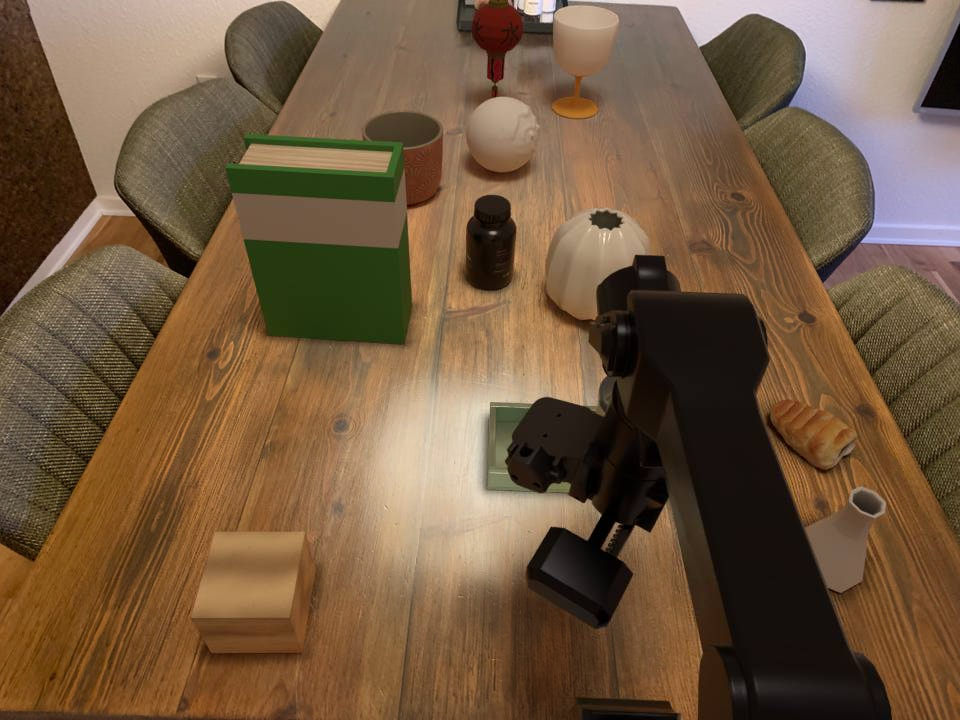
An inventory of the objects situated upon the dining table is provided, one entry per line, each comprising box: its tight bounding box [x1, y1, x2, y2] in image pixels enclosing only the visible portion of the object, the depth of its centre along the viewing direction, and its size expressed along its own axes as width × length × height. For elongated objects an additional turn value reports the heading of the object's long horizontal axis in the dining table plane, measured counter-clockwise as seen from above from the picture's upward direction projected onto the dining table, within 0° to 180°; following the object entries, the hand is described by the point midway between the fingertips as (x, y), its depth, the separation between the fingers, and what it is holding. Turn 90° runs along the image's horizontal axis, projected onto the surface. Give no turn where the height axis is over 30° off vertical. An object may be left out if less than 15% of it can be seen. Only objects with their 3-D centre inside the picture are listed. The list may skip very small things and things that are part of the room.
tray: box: [486, 401, 596, 494], centre depth 78 cm, size 10×19×3 cm, turn 88°
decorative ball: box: [465, 96, 541, 173], centre depth 118 cm, size 12×12×12 cm
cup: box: [551, 4, 620, 120], centre depth 132 cm, size 12×12×17 cm
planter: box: [361, 109, 444, 205], centre depth 112 cm, size 12×12×11 cm
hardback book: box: [224, 133, 413, 345], centre depth 85 cm, size 18×7×24 cm, turn 86°
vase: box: [544, 206, 652, 321], centre depth 93 cm, size 14×14×13 cm
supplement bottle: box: [464, 194, 518, 291], centre depth 97 cm, size 7×7×12 cm
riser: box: [190, 531, 317, 654], centre depth 63 cm, size 8×8×7 cm
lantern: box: [470, 0, 524, 99], centre depth 127 cm, size 10×10×30 cm
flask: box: [805, 485, 887, 594], centre depth 67 cm, size 7×7×10 cm
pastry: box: [769, 399, 858, 471], centre depth 80 cm, size 9×7×4 cm
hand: (604, 540), depth 57 cm, fingers open, 9 cm apart
